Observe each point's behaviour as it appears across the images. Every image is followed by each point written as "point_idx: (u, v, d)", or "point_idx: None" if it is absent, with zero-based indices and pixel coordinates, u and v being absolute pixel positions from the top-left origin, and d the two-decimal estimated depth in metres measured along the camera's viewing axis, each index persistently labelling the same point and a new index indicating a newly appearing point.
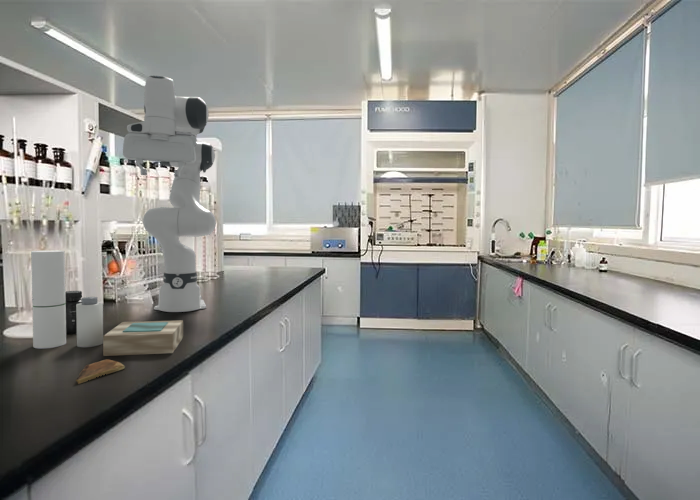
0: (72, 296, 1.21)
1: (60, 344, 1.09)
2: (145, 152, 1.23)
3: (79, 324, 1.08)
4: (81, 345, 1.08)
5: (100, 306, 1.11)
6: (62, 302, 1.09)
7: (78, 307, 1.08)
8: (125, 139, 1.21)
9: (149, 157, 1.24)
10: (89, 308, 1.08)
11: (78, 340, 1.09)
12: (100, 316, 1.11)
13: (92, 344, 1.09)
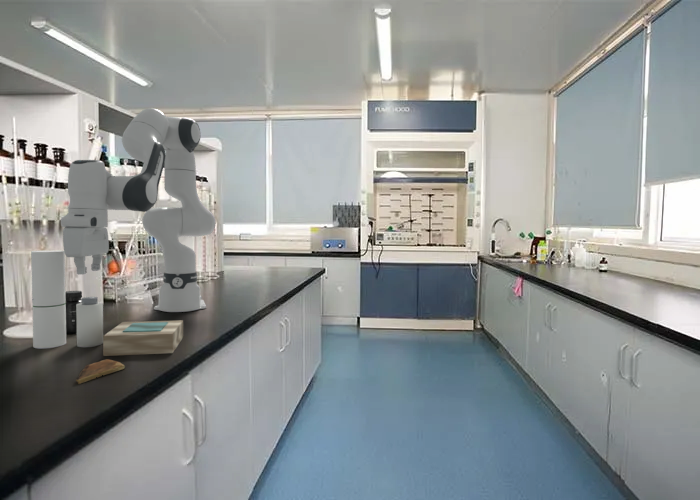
0: (72, 296, 1.21)
1: (60, 344, 1.09)
2: (90, 248, 1.06)
3: (79, 324, 1.08)
4: (81, 345, 1.08)
5: (100, 306, 1.11)
6: (62, 302, 1.09)
7: (78, 307, 1.08)
8: (84, 235, 1.01)
9: (92, 253, 1.08)
10: (89, 308, 1.08)
11: (78, 340, 1.09)
12: (100, 316, 1.11)
13: (92, 344, 1.09)
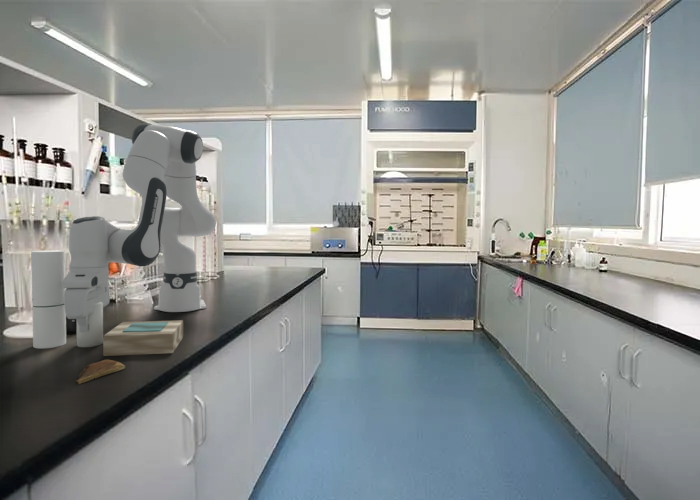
0: None
1: (60, 344, 1.09)
2: (91, 306, 1.07)
3: None
4: (81, 345, 1.08)
5: (100, 306, 1.11)
6: (62, 302, 1.09)
7: None
8: (85, 297, 1.02)
9: (93, 311, 1.08)
10: None
11: (78, 340, 1.09)
12: (100, 316, 1.11)
13: (92, 344, 1.09)
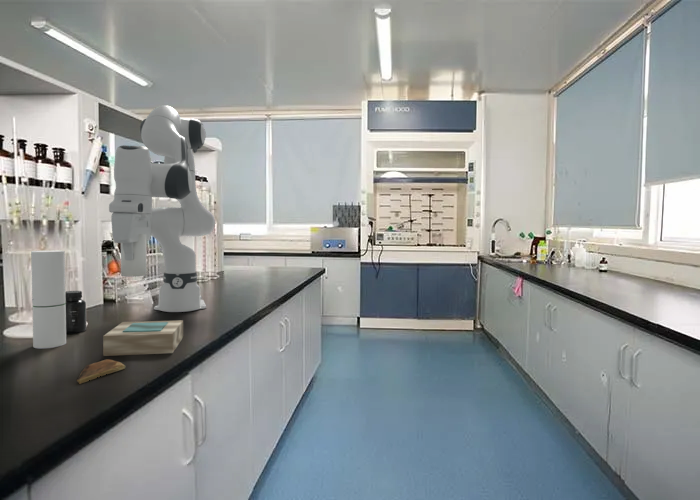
0: (72, 296, 1.21)
1: (60, 344, 1.09)
2: (136, 234, 1.06)
3: (123, 253, 1.07)
4: (126, 274, 1.07)
5: (144, 236, 1.09)
6: (62, 302, 1.09)
7: None
8: (132, 221, 1.00)
9: (137, 240, 1.07)
10: None
11: (122, 269, 1.07)
12: (144, 246, 1.09)
13: (136, 274, 1.07)
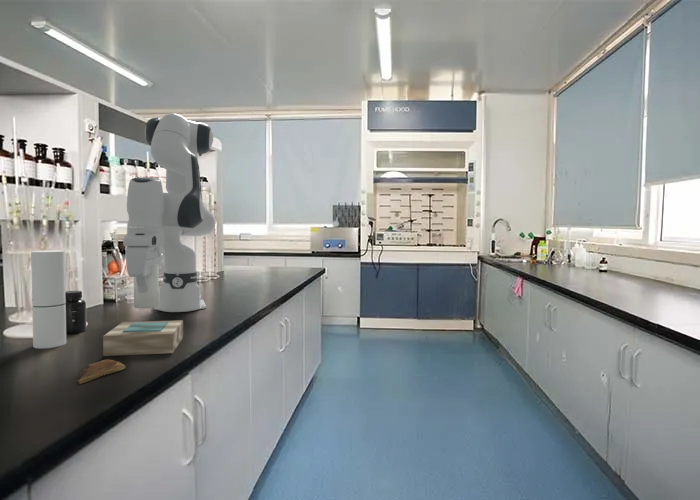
0: (72, 296, 1.21)
1: (60, 344, 1.09)
2: (150, 267, 1.06)
3: (136, 285, 1.07)
4: (139, 306, 1.07)
5: (157, 267, 1.09)
6: (62, 302, 1.09)
7: None
8: (146, 255, 1.01)
9: (150, 272, 1.07)
10: None
11: (136, 301, 1.07)
12: (157, 278, 1.09)
13: (150, 305, 1.08)
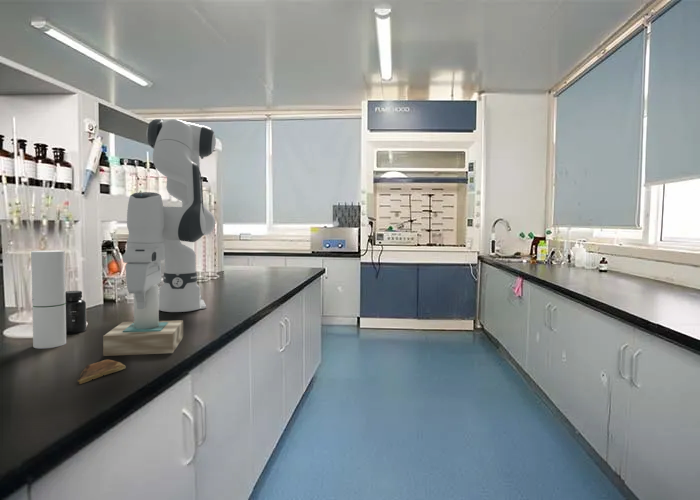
0: (72, 296, 1.21)
1: (60, 344, 1.09)
2: (149, 282, 1.06)
3: (136, 305, 1.07)
4: (139, 327, 1.08)
5: (157, 288, 1.10)
6: (62, 302, 1.09)
7: None
8: (146, 271, 1.01)
9: (150, 287, 1.08)
10: None
11: (136, 322, 1.08)
12: (157, 298, 1.10)
13: (149, 326, 1.08)
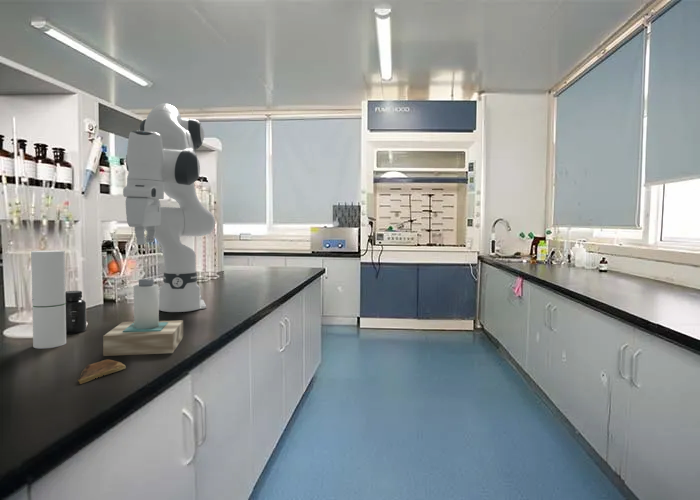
0: (72, 296, 1.21)
1: (60, 344, 1.09)
2: (149, 219, 1.07)
3: (136, 305, 1.07)
4: (139, 327, 1.08)
5: (157, 288, 1.10)
6: (62, 302, 1.09)
7: (136, 288, 1.07)
8: (146, 206, 1.02)
9: (150, 224, 1.08)
10: (147, 289, 1.07)
11: (136, 322, 1.08)
12: (157, 298, 1.10)
13: (149, 326, 1.08)
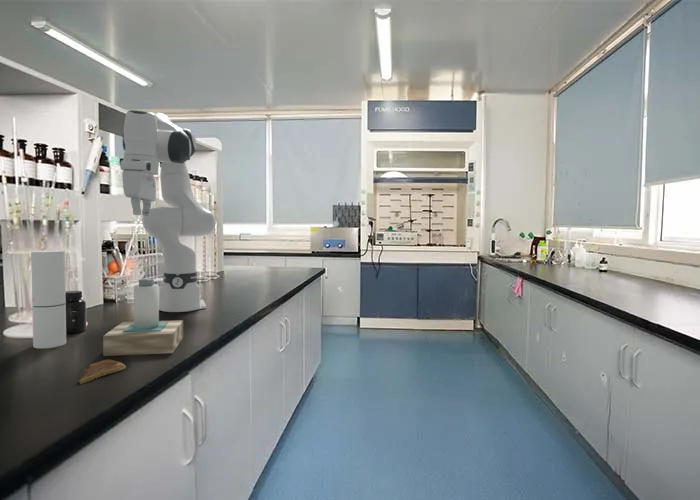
0: (72, 296, 1.21)
1: (60, 344, 1.09)
2: (144, 191, 1.16)
3: (136, 305, 1.07)
4: (139, 327, 1.08)
5: (157, 288, 1.10)
6: (62, 302, 1.09)
7: (136, 288, 1.07)
8: (141, 177, 1.11)
9: (145, 197, 1.17)
10: (147, 289, 1.07)
11: (136, 322, 1.08)
12: (157, 298, 1.10)
13: (149, 326, 1.08)
